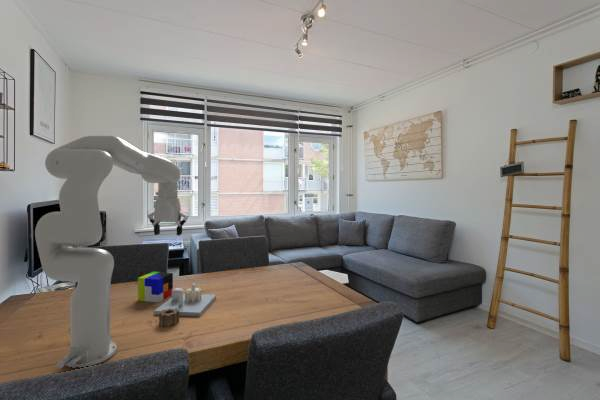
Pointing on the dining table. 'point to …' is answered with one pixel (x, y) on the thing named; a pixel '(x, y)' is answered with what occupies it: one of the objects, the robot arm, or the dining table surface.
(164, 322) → the walnut gear
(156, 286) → the puzzle toy
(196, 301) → the gear board
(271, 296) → the dining table surface
